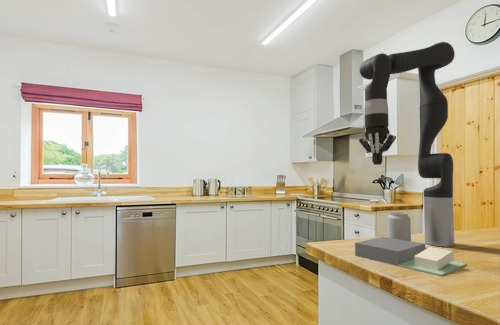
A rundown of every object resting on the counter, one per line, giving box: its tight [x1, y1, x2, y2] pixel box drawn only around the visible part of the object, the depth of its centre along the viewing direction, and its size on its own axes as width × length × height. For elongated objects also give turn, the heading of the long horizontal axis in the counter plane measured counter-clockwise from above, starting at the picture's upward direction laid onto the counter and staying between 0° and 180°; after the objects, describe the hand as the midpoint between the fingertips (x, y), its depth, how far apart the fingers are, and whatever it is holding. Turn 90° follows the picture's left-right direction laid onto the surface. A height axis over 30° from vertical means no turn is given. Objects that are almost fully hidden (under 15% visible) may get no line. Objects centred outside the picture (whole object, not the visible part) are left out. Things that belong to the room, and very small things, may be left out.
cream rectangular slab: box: [414, 246, 455, 270], centre depth 85 cm, size 9×6×4 cm, turn 124°
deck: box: [354, 236, 426, 267], centre depth 96 cm, size 16×14×4 cm
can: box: [386, 211, 412, 241], centre depth 109 cm, size 8×8×12 cm
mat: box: [397, 259, 467, 277], centre depth 86 cm, size 16×11×1 cm
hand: (377, 164), depth 105 cm, fingers closed
